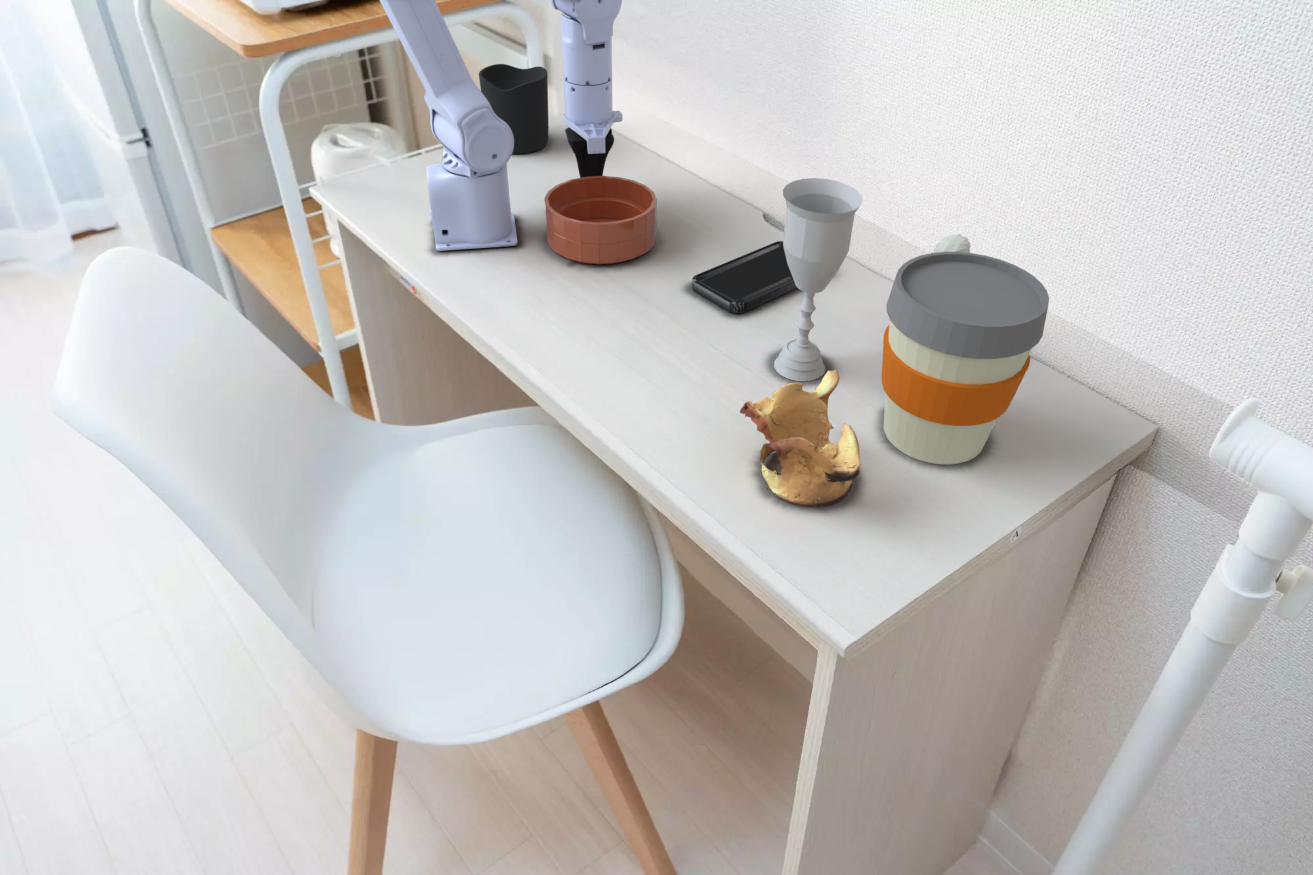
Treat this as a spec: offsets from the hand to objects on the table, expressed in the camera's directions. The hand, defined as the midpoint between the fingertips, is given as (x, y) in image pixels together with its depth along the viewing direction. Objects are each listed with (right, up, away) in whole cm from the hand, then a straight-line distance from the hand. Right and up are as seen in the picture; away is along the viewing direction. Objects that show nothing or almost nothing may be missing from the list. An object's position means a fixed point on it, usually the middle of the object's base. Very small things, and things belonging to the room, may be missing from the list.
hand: (591, 187), depth 119 cm
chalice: (+22, -25, -26) cm, 42 cm away
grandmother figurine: (+36, -23, -23) cm, 49 cm away
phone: (+20, -14, -13) cm, 28 cm away
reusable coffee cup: (+33, -31, -34) cm, 57 cm away
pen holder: (-12, +11, +17) cm, 24 cm away
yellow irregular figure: (+21, -35, -39) cm, 56 cm away
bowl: (+2, -8, -6) cm, 10 cm away
